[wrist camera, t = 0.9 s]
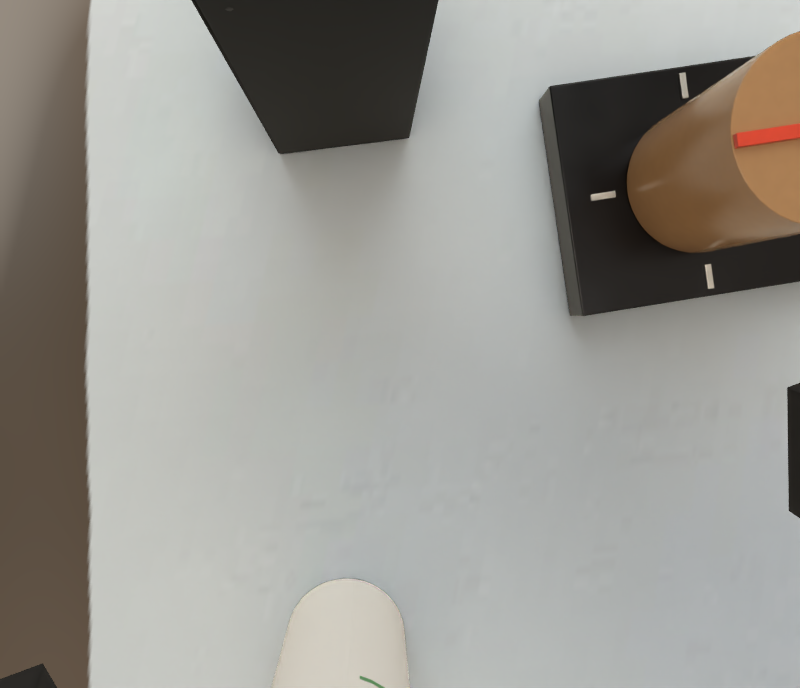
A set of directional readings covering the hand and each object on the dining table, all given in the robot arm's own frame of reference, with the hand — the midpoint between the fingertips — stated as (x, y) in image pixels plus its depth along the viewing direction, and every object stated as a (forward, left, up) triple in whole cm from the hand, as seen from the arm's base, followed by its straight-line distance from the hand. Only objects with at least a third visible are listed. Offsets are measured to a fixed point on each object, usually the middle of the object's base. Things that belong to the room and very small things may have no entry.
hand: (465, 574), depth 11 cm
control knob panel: (-15, -14, -29) cm, 36 cm away
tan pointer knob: (-15, -14, -26) cm, 33 cm away
